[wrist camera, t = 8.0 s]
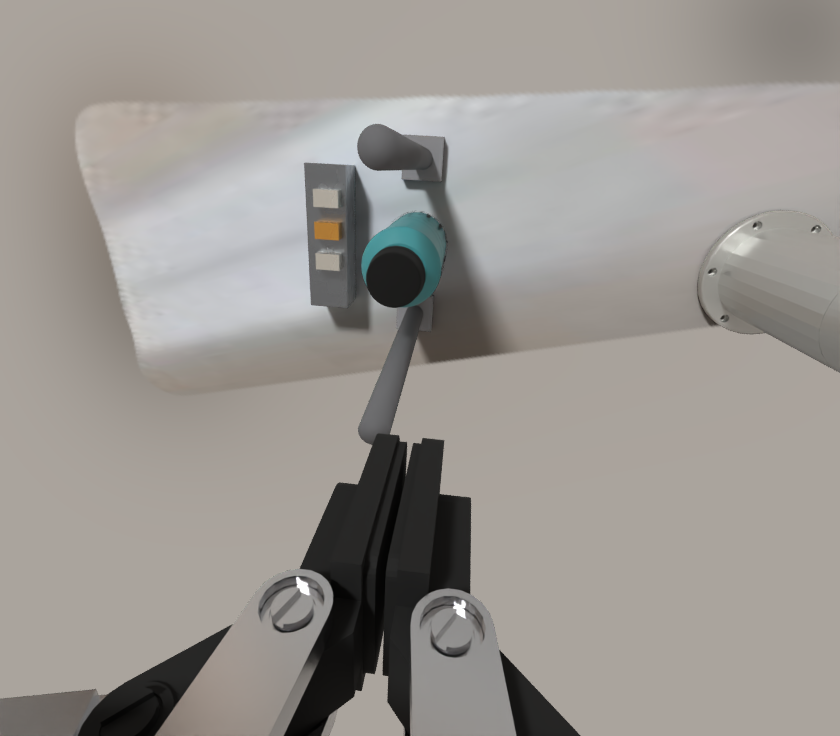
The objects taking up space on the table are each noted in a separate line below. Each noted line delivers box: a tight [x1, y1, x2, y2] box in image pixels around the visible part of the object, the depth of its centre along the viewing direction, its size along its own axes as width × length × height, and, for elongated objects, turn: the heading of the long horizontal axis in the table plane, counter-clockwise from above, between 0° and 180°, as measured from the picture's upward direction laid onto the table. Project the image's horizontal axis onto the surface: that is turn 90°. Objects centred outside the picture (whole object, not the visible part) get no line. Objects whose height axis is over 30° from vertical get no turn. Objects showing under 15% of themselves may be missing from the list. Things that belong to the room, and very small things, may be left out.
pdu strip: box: [304, 163, 356, 308], centre depth 46 cm, size 4×14×5 cm, turn 177°
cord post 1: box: [357, 124, 444, 182], centre depth 33 cm, size 4×4×26 cm
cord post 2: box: [358, 295, 434, 445], centre depth 40 cm, size 4×4×26 cm
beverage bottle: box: [361, 211, 448, 308], centre depth 39 cm, size 6×7×20 cm
